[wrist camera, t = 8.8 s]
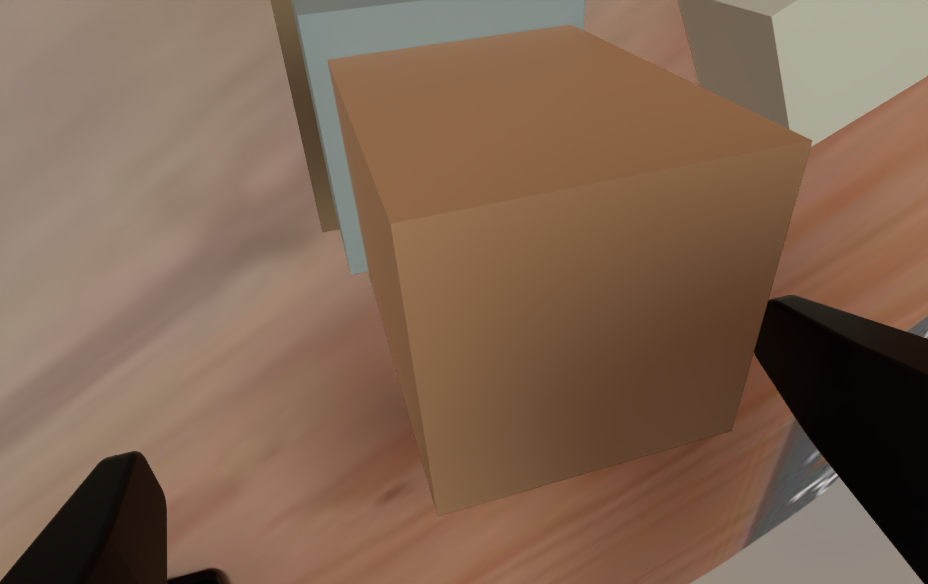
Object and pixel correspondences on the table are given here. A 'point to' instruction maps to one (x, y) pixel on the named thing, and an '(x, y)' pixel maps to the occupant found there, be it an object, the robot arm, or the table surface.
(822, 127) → the cream cube
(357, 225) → the slate block
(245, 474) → the table surface
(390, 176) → the tan block
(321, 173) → the walnut base block
